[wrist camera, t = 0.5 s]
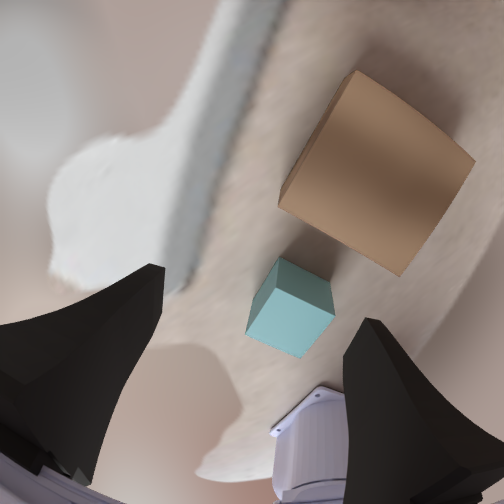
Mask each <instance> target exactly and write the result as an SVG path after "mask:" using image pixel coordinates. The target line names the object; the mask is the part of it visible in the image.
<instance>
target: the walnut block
mask: <svg viewBox="0 0 504 504" xmlns="http://www.w3.org/2000/svg"><path fill="white" fill-rule="evenodd" d="M475 162H476V161H475V160H474V159H473V158H472V157H471V156H470V155H469V154H468V153H467V152H466V151H465V150H463V149H462V148H461V147H460V146H459V145H458V144H457V143H456V142H455V141H453V140H452V139H451V138H450V137H449V136H448V135H446V134H445V133H444V132H443V131H442V130H441V129H439V128H438V127H437V126H436V125H434V124H433V123H432V122H431V121H430V120H428V119H427V118H426V117H424V116H423V115H422V114H421V113H419V112H418V111H417V110H415V109H414V108H413V107H411V106H410V105H409V104H407V103H406V102H405V101H403V100H402V99H400V98H399V97H398V96H396V95H395V94H393V93H392V92H390V91H389V90H387V89H386V88H384V87H383V86H381V85H380V84H378V83H377V82H375V81H374V80H372V79H371V78H369V77H368V76H366V75H364V74H363V73H361V72H360V71H358V70H356V71H354V72H353V73H351V74H350V75H348V76H347V77H345V78H344V80H343V82H342V83H341V85H340V87H339V89H338V90H337V92H336V94H335V95H334V97H333V99H332V101H331V102H330V104H329V106H328V108H327V109H326V111H325V113H324V115H323V116H322V118H321V120H320V122H319V123H318V125H317V127H316V128H315V130H314V132H313V134H312V135H311V137H310V139H309V141H308V142H307V144H306V146H305V148H304V149H303V151H302V153H301V155H300V156H299V158H298V160H297V162H296V163H295V165H294V167H293V169H292V170H291V172H290V174H289V176H288V177H287V179H286V181H285V183H284V184H283V186H282V188H281V190H280V196H279V202H278V207H279V208H281V209H283V210H285V211H286V212H288V213H290V214H292V215H294V216H296V217H297V218H299V219H301V220H303V221H305V222H306V223H308V224H310V225H312V226H313V227H315V228H317V229H319V230H321V231H322V232H324V233H326V234H328V235H329V236H331V237H333V238H335V239H336V240H338V241H340V242H342V243H343V244H345V245H347V246H348V247H350V248H352V249H354V250H355V251H357V252H359V253H360V254H362V255H364V256H365V257H367V258H369V259H370V260H372V261H374V262H375V263H377V264H379V265H380V266H382V267H384V268H385V269H387V270H389V271H390V272H392V273H394V274H395V275H397V276H398V277H400V276H401V274H402V273H403V272H404V270H405V269H406V268H407V266H408V265H409V264H410V262H411V261H412V260H413V258H414V257H415V256H416V254H417V253H418V251H419V250H420V249H421V247H422V246H423V244H424V243H425V242H426V240H427V239H428V237H429V236H430V234H431V233H432V232H433V230H434V229H435V227H436V226H437V224H438V223H439V221H440V220H441V218H442V217H443V215H444V214H445V212H446V210H447V209H448V207H449V206H450V204H451V203H452V201H453V199H454V198H455V196H456V195H457V193H458V191H459V190H460V188H461V186H462V185H463V183H464V181H465V180H466V178H467V176H468V175H469V173H470V171H471V169H472V168H473V166H474V164H475Z"/></svg>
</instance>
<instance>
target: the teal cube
mask: <svg viewBox="0 0 504 504" xmlns="http://www.w3.org/2000/svg"><path fill="white" fill-rule="evenodd" d="M334 317H335V310H334V304H333V298H332V292H331V286H330V282H328V281H326V280H324V279H322V278H320V277H318V276H316V275H314V274H312V273H310V272H308V271H306V270H304V269H302V268H300V267H298V266H297V265H295V264H293V263H291V262H289V261H287V260H285V259H283V258H281V257H279V258H278V260H277V261H276V263H275V265H274V266H273V268H272V270H271V271H270V273H269V275H268V276H267V278H266V280H265V281H264V283H263V284H262V286H261V288H260V289H259V291H258V293H257V294H256V296H255V298H254V299H253V302H252V306H251V310H250V315H249V319H248V324H247V328H246V332H245V335H247V336H249V337H251V338H254V339H256V340H258V341H260V342H263V343H265V344H267V345H269V346H272V347H274V348H276V349H279V350H281V351H283V352H286V353H288V354H290V355H293V356H295V357H297V358H301V357H302V356H303V355H304V354H305V353H306V351H307V350H308V349H309V348H310V347H311V345H312V344H313V343H314V342H315V341H316V339H317V338H318V337H319V336H320V335H321V333H322V332H323V331H324V330H325V329H326V327H327V326H328V325H329V324H330V322H331V321H332V320H333V319H334Z"/></svg>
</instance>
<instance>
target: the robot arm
mask: <svg viewBox="0 0 504 504" xmlns="http://www.w3.org/2000/svg"><path fill="white" fill-rule="evenodd" d="M164 278H165V268H164V267H161V266H157V265H154V264H150V263H149V264H147V265H145V266H143V267H142V268H140V269H138V270H137V271H135V272H133V273H131V274H130V275H128V276H126V277H125V278H123V279H121V280H119V281H118V282H116V283H114V284H112V285H111V286H109V287H107V288H105V289H103V290H101V291H99V292H97V293H95V294H93V295H91V296H89V297H87V298H85V299H84V300H81V301H79V302H77V303H74V304H72V305H70V306H67V307H65V308H62V309H59V310H57V311H54V312H51V313H48V314H45V315H41V316H38V317H35V318H32V319H28V320H23V321H20V322H15V323H10V324H4V325H0V504H125V503H123V502H120V501H117V500H115V499H112V498H110V497H107V496H105V495H103V494H100V493H98V492H96V491H94V490H91V489H89V488H87V487H86V486H88V485H91V483H92V479H93V475H94V471H95V467H96V463H97V459H98V456H99V453H100V449H101V446H102V443H103V439H104V437H105V433H106V431H107V428H108V425H109V422H110V419H111V417H112V414H113V412H114V409H115V406H116V404H117V401H118V399H119V396H120V394H121V391H122V389H123V387H124V385H125V383H126V381H127V380H128V378H129V376H130V374H131V372H132V371H133V369H134V367H135V365H136V364H137V362H138V360H139V358H140V357H141V355H142V353H143V351H144V350H145V348H146V346H147V344H148V343H149V341H150V339H151V337H152V336H153V333H154V331H155V329H156V326H157V324H158V321H159V319H160V316H161V314H162V306H163V291H164ZM343 386H344V394H343V393H340V392H337V391H334V390H331V389H329V388H326V387H323V386H319V387H317V388H316V389H315V390H314V391H313V392H312V393H311V394H310V395H308V396H307V397H306V398H305V399H304V400H303V401H302V402H301V403H300V404H299V405H298V406H297V407H296V408H295V409H294V410H293V411H291V412H290V413H289V414H288V415H287V416H286V417H285V418H284V419H283V420H281V421H280V422H279V423H278V424H277V425H276V426H275V427H274V428H272V429H271V430H270V433H269V434H270V435H271V436H274V437H277V441H276V450H275V460H274V468H273V477H272V484H273V488H274V491H275V493H276V495H277V497H278V498H279V499H280V500H277V501H275V502H273V504H477V503H479V502H481V501H482V499H483V497H482V493H481V492H483V491H484V490H486V489H487V488H489V487H490V486H492V485H493V484H495V483H496V482H498V481H499V480H501V479H502V478H503V477H504V442H502V441H501V440H499V439H497V438H495V437H494V436H492V435H490V434H489V433H487V432H486V431H484V430H483V429H481V428H480V427H479V426H477V425H476V424H474V423H473V422H472V421H471V420H469V419H468V418H467V417H466V416H464V415H463V414H462V413H461V412H460V411H459V410H457V409H456V408H455V407H454V406H453V405H452V404H450V402H449V401H447V400H446V399H445V398H444V396H443V395H442V394H441V393H439V391H437V389H436V388H435V387H434V386H433V385H432V384H431V383H430V382H429V381H428V379H427V378H426V377H425V376H424V375H423V373H422V372H421V371H420V370H419V369H418V367H417V366H416V365H415V364H414V363H413V361H412V360H411V359H410V357H409V356H408V355H407V353H406V352H405V351H404V350H403V348H402V347H401V346H400V344H399V343H398V342H397V340H396V339H395V338H394V337H393V335H392V334H391V333H390V331H389V330H388V329H387V328H386V327H385V325H384V324H383V323H382V322H381V321H380V320H376V319H371V318H367V317H365V319H364V321H363V322H362V324H361V326H360V328H359V330H358V331H357V333H356V335H355V337H354V339H353V340H352V342H351V344H350V346H349V347H348V349H347V351H346V352H345V354H344V356H343ZM492 504H504V500H500V501H498V502H495V503H492Z"/></svg>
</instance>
